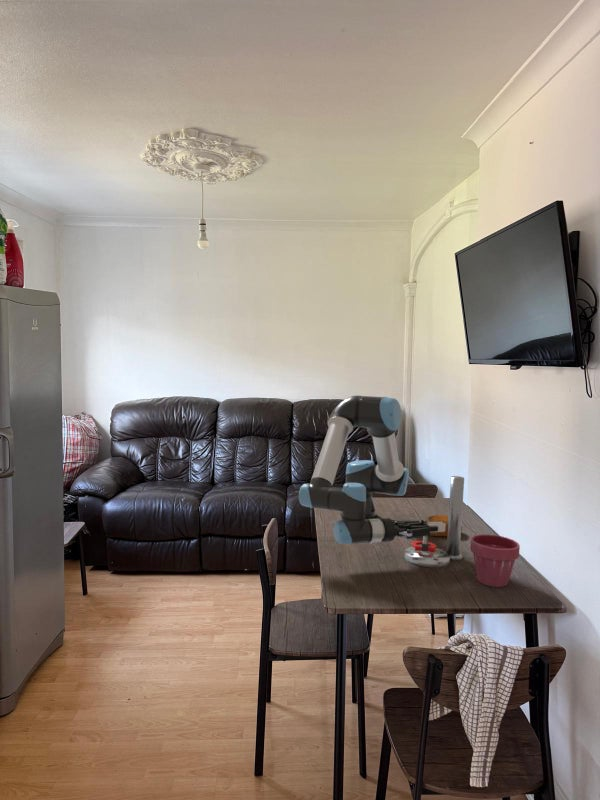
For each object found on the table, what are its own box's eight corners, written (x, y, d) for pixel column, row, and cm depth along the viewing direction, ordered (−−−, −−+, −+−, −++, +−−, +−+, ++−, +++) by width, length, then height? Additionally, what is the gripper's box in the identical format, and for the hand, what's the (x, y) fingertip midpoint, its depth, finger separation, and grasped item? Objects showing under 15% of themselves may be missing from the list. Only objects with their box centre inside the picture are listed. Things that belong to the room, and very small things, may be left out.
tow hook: (411, 543, 200) (412, 550, 191) (413, 507, 199) (414, 512, 190) (435, 545, 198) (437, 553, 189) (437, 509, 198) (440, 515, 189)
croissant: (464, 544, 216) (468, 524, 215) (425, 537, 215) (429, 517, 214) (452, 531, 230) (456, 512, 230) (415, 525, 229) (419, 506, 229)
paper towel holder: (397, 553, 197) (401, 474, 195) (449, 549, 203) (453, 472, 201) (417, 569, 183) (422, 484, 180) (473, 564, 189) (478, 482, 186)
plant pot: (507, 573, 182) (510, 534, 181) (524, 591, 168) (527, 550, 167) (463, 571, 182) (465, 532, 181) (475, 589, 168) (478, 547, 167)
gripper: (370, 534, 193) (432, 530, 200) (389, 548, 179) (454, 544, 186) (371, 513, 192) (433, 510, 199) (390, 525, 179) (455, 521, 185)
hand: (443, 526), depth 193 cm, fingers closed on tow hook
